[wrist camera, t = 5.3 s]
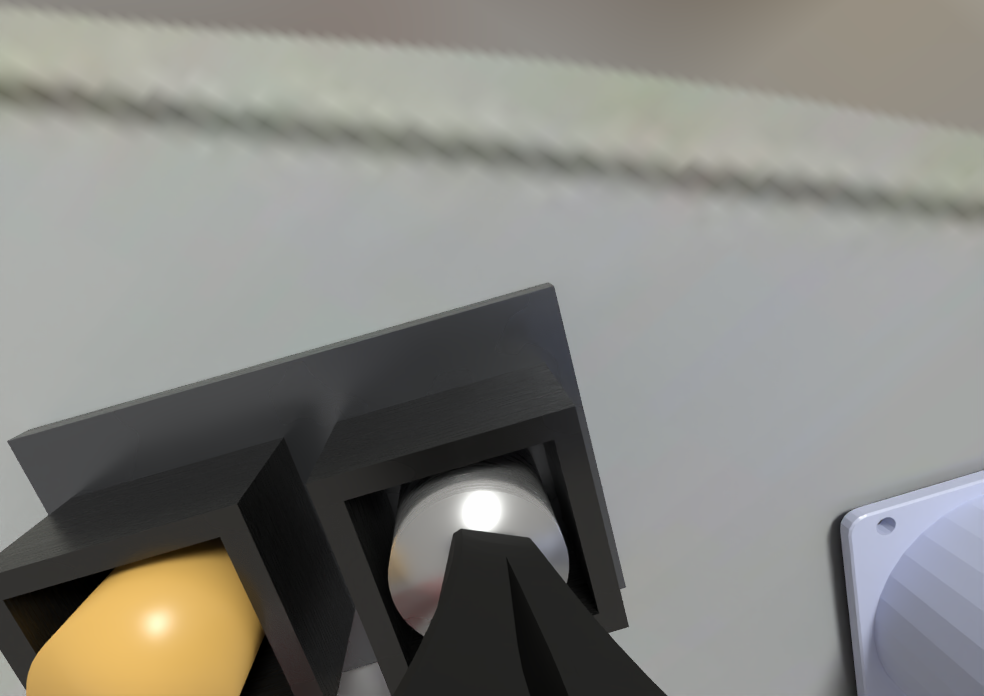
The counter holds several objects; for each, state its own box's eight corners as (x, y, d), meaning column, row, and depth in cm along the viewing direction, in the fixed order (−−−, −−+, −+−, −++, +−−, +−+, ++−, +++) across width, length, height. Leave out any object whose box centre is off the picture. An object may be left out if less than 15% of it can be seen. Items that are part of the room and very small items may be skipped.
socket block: (548, 282, 12) (589, 308, 9) (617, 571, 14) (672, 680, 11) (28, 429, 12) (-132, 513, 8) (177, 703, 14) (96, 855, 11)
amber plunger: (252, 493, 11) (186, 589, 8) (304, 613, 12) (262, 739, 9) (104, 536, 11) (-13, 648, 8) (168, 654, 12) (81, 794, 9)
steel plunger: (520, 406, 12) (545, 469, 9) (552, 527, 13) (586, 619, 10) (381, 446, 12) (363, 523, 9) (424, 565, 13) (419, 670, 10)
